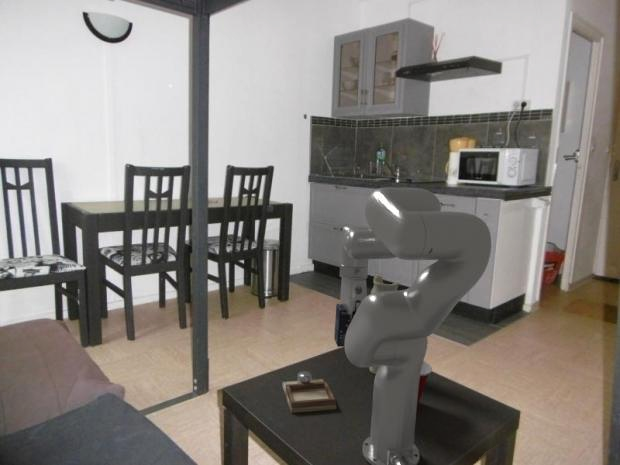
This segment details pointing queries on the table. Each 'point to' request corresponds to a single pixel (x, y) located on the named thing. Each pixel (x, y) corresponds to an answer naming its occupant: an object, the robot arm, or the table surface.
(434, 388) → the table surface
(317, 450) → the table surface
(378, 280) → the vase
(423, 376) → the plastic cup
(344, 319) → the box
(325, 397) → the plate
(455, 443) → the table surface
